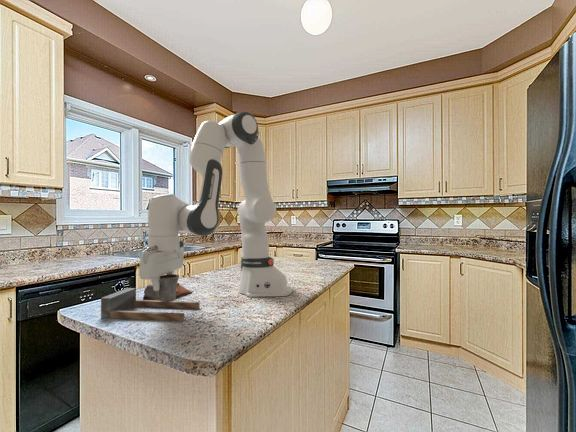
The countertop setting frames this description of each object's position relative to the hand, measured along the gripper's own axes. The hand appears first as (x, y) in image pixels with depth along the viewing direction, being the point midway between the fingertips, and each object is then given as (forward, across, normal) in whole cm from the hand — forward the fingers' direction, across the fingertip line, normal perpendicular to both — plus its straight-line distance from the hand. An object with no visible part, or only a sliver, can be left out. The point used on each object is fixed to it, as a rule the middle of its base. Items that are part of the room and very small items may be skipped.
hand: (163, 287), depth 92 cm
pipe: (+4, 0, +1) cm, 4 cm away
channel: (+8, 0, +4) cm, 9 cm away
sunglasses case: (+9, +18, +7) cm, 21 cm away
